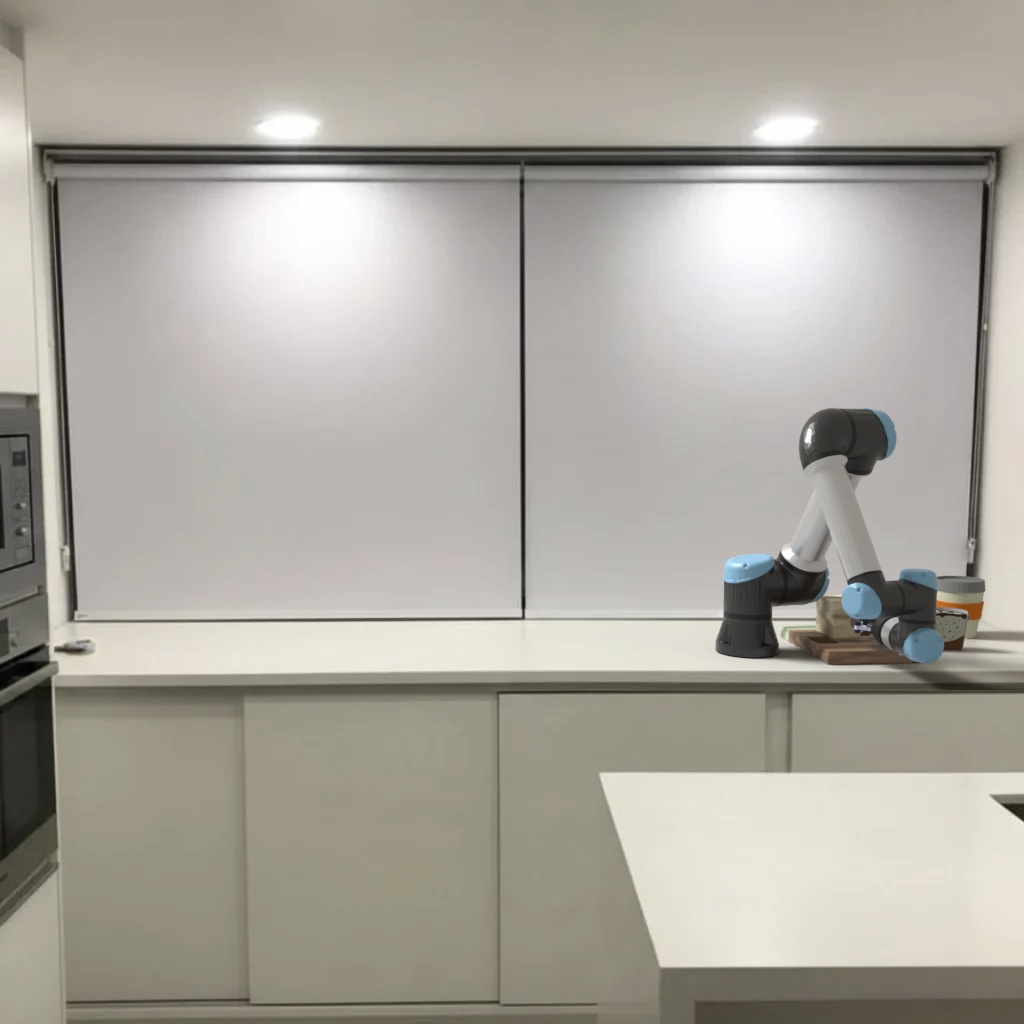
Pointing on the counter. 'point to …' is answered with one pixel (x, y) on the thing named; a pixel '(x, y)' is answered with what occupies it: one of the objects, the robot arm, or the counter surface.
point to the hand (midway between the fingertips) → (852, 614)
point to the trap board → (841, 646)
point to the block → (833, 618)
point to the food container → (952, 627)
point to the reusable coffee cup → (962, 598)
